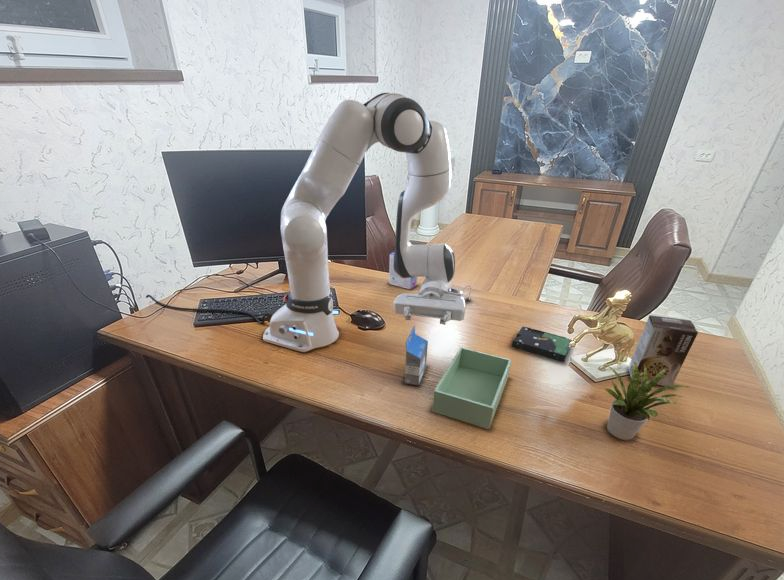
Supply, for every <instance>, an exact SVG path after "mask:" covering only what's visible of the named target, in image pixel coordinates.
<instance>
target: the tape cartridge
mask: <svg viewBox="0 0 784 580" xmlns="http://www.w3.org/2000/svg"><path fill="white" fill-rule="evenodd" d="M428 345H429V342H428V340H427V339H425V338H423V337H421V336H420V335H418V334H417V333H416V325H413V328H412V329H411V331H410V333H409V335H408V337H407V339H406V341H405V348H406V349H405V351H406V353H405V370H404V371H405V373H404V384H407V385H412V386H419V385H420V384H421V381H422V379H423V376H424V373H425V370H426V367H427V359H428V358H427V357H428Z"/></svg>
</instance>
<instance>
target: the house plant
mask: <svg viewBox="0 0 784 580" xmlns="http://www.w3.org/2000/svg"><path fill="white" fill-rule="evenodd" d="M607 367H608V369H610V370H611V372H612V373H613V374H614V375H615V377H616V379H617V381H618V382H619V383H618V385H617V384H616V382H614V381H613V380H611V383H612V385H613V389H614V390H613V389H611V388H606V387H604V388H603V389H604V390H605V391H606V392H607V393H608V394H609V395H611V396H612V397H613V398H614V400H613V401H612V402H611V405H610V409H609V415H608V421H607V427H606V428H607V431H608V432H609V434H610V435H612V436H613V437H615V438H617V439H619V440H622V441H623V440H624V441H629V440H632V439H633V438H634V437H635V436H636V434H637V433H638V432H639V431H640V430H641V429H642V427H643V426H644V425H645V424H646V422H648V421H650V418H651V417H652V418H653V420H655V419H656V418H657V417H658V415H659V412H658V411H657V410H656V409H652V408H655V407H658V406H662V405H669V404H672V405H674V406H676V405H678V403H677V402H673V401H672V400H671V399H670V397H681V398H682V397H683V396H682V395H679V394H674V393H669V394H664V395H661V396H658V397H657V396H655V395H657V394H660V393H662V392H664V391H667V390H673V389H678V388H689V386H688V385H683V384H673V385H668V386H661V387H659V388H657V389H655V390H654V388H655V386H657V385H656V384H657V383H658V382H659V381H660V380H661V378H662V376H663V374H664V372H665V371H666V368H665V369H664V370H662V371H661V372H659V373H658V374H657V375H656V376H655V377H654V379H653V380H652V381H651V382H650V381H649V382H647V377H648V374H647V369H646V366H645V363H644V372H643V373H642V372H641V374H640V373H639V370H638V366H637V364H636V362H634V365H633V371H632V377H631V376H630V381H629V383H628V384H627V385H628V386H627V388H625V387H626V386H625V383H624V381H623V379H622V377H621V375H620V374H619V373H618V372H617V371H616V370H615V369H613V368H612V367H611V366H608V365H607ZM640 371H641V370H640ZM642 374H644V377H643V376H642ZM640 376H642V379H641V382H639V379H640ZM639 383H640V385H639ZM618 386H620V387H621V390H622V392H623V395H624V396H623V395H622V392H621V391H620V389H619V387H618ZM652 390H653V391H652ZM651 391H652V392H651ZM653 396H654V397H653Z"/></svg>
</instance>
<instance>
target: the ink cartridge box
mask: <svg viewBox="0 0 784 580" xmlns="http://www.w3.org/2000/svg"><path fill="white" fill-rule="evenodd" d="M394 252H395V250H394V251H392V252H391V253H389V264H388V266H389V269H388V285H392V286H395V287H400V288H403V289H408V290H412V289H414V288H415V287H417V285H418V277H411V278H402V277H400V276H399V275H398V274H397V273H396V272H395V271H394V267H393V257H394Z"/></svg>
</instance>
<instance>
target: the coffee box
mask: <svg viewBox="0 0 784 580" xmlns="http://www.w3.org/2000/svg"><path fill="white" fill-rule="evenodd" d="M698 334H699V332H698V330H697V328H696V326H695V325H694V322H692V320H690V319H683V318H675V317H667V316H660V315H653V314H652V315H651V314H650V315H649V316H648V318H647V321H646V323H645V326H644V328H643V331H642V333H641V336H640V337H639V340H638V341H637V342H638V343H637V344H636V347H635V349H634V352H633V355H632V357H631V360H630V362H629V364H628V367H627V368H628V372H629V375H630V378H631V377H632V371H633V365H634V362H636V364H637V366H638V370H639V373H640V374H641V372H642V373H643V372H644V363H645V366H646V369H647V374H648V377H647V382H649V381H650V382H651V381H652V380H653V379H654V377H655V376H656V375H657V374H658V373H659V372H661V371H662V370H664V369H665V368H666V371H665V372H664V374H663V376H662V378H661V380H660V381H659V382H658V383H657V384H656V385H655V386H661V387H664V386H668V385H674V383H675V380H676V379H677V376H678V375H679V372H680V371H681V369H682V366H683V364H684V363H685V360H686V358H687V356H688V355H689V352H690V350H691V348H692V346H693V345H694V342H695V341H696V339H697V336H698ZM629 365H630V366H629ZM640 370H641V371H640ZM642 376H643V377H644V374H642ZM642 376H640V379H639V383H641V379H642Z"/></svg>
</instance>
